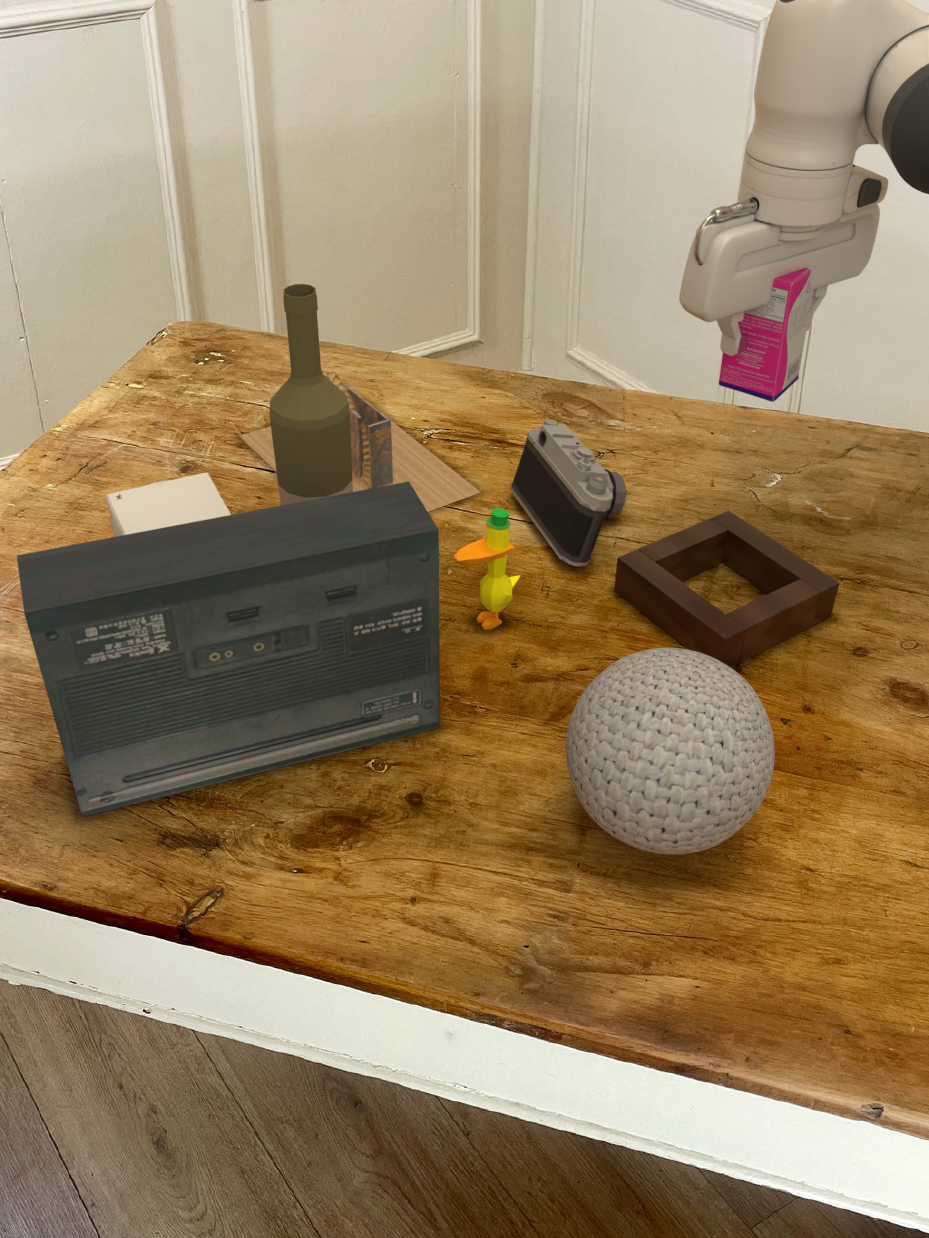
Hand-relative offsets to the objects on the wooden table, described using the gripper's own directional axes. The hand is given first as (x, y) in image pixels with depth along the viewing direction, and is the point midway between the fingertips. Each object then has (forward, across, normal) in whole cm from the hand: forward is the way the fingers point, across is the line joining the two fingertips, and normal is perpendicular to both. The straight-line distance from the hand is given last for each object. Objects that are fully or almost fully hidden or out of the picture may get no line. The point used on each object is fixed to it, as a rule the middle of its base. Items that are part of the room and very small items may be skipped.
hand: (765, 341), depth 109 cm
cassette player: (+22, -54, -1) cm, 58 cm away
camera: (+22, -12, +10) cm, 27 cm away
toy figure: (+22, -29, +2) cm, 36 cm away
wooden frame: (+21, -9, -8) cm, 24 cm away
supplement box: (+4, 0, 0) cm, 4 cm away
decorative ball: (+22, -32, -25) cm, 46 cm away
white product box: (+22, -53, +13) cm, 59 cm away
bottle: (+22, -39, +14) cm, 47 cm away
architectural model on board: (+22, -25, +33) cm, 47 cm away
